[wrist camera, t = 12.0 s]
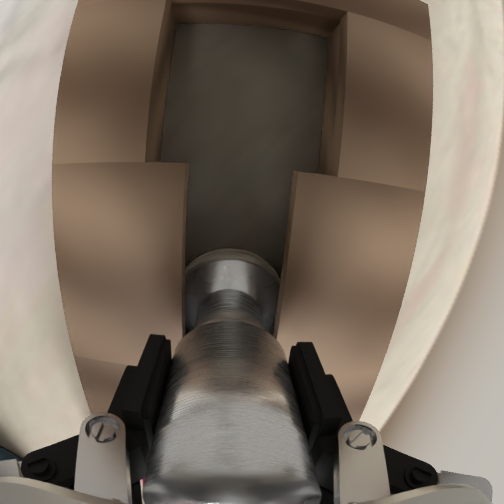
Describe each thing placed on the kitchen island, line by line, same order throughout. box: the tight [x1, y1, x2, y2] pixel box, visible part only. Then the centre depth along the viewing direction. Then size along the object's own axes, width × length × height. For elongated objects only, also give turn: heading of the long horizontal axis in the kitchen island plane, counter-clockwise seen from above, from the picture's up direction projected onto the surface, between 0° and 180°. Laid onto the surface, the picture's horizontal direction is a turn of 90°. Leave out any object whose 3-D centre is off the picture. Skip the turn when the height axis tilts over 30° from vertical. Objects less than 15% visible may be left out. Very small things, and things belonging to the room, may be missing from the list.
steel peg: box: [142, 248, 322, 504], centre depth 11 cm, size 6×6×12 cm
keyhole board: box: [52, 0, 433, 421], centre depth 14 cm, size 24×16×4 cm, turn 175°
